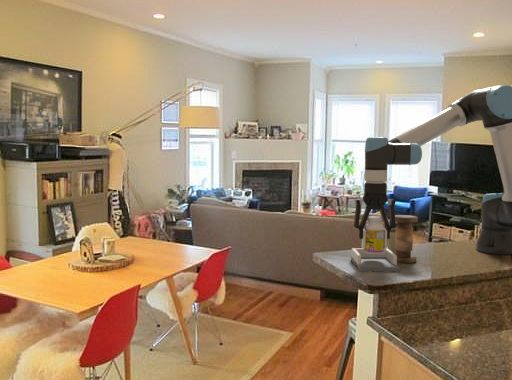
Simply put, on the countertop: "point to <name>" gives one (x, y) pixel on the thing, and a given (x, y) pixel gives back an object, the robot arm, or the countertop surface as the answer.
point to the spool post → (404, 238)
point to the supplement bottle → (374, 236)
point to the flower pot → (392, 241)
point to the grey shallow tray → (375, 261)
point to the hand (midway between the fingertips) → (374, 247)
